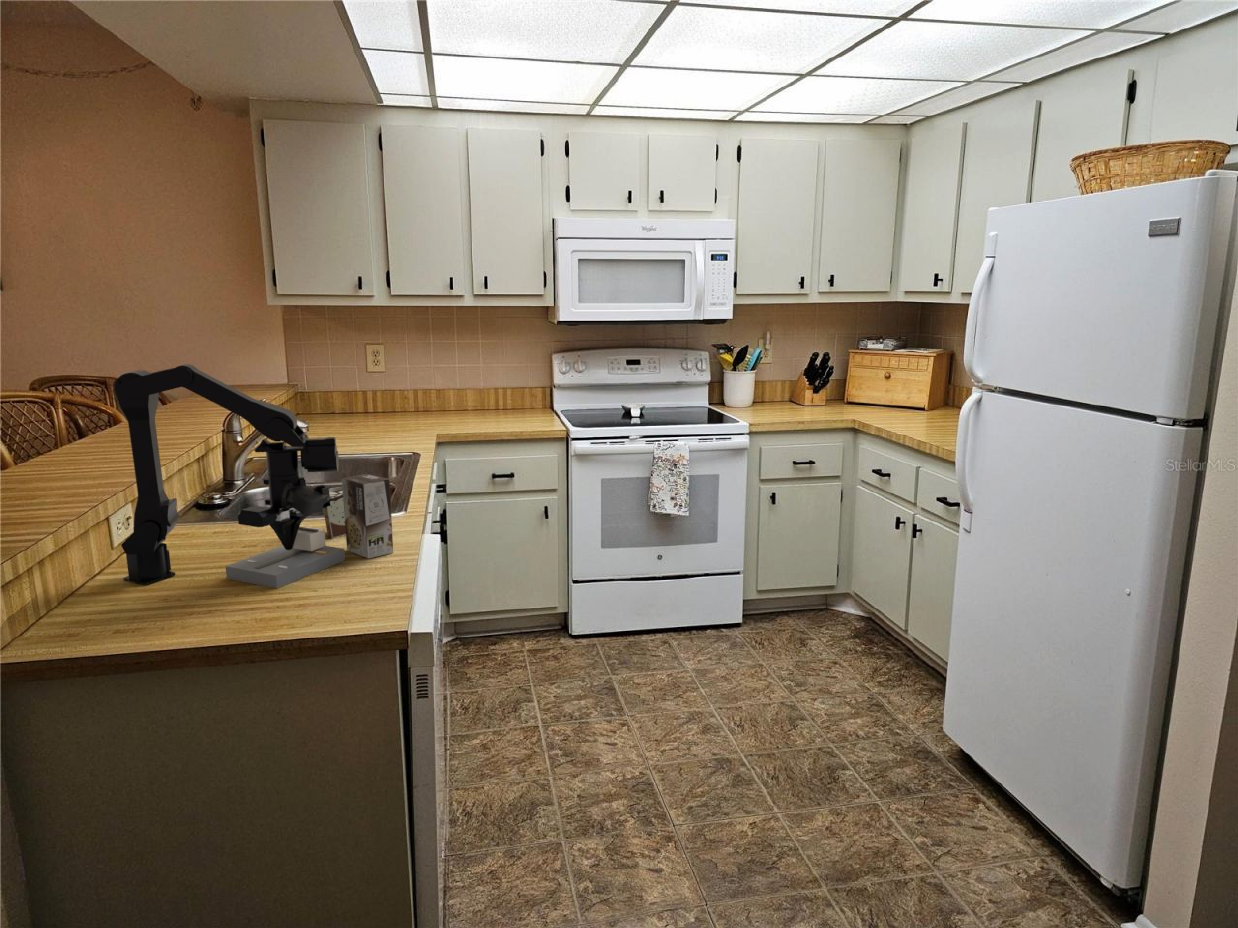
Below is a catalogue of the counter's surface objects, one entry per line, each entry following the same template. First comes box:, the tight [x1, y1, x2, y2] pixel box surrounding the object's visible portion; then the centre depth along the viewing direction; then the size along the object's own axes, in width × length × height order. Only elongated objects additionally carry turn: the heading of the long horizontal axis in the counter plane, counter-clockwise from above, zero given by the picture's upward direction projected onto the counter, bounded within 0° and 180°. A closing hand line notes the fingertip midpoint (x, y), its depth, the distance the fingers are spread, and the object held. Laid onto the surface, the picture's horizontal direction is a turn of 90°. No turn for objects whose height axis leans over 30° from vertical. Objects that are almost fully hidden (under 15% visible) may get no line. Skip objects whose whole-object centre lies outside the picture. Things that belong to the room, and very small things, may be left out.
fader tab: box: [293, 526, 327, 551], centre depth 166 cm, size 4×5×4 cm
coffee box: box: [341, 473, 394, 559], centre depth 172 cm, size 9×6×16 cm
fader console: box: [225, 545, 346, 589], centre depth 161 cm, size 18×13×3 cm
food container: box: [322, 486, 346, 540], centre depth 187 cm, size 12×6×10 cm, turn 144°
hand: (289, 549), depth 162 cm, fingers closed
